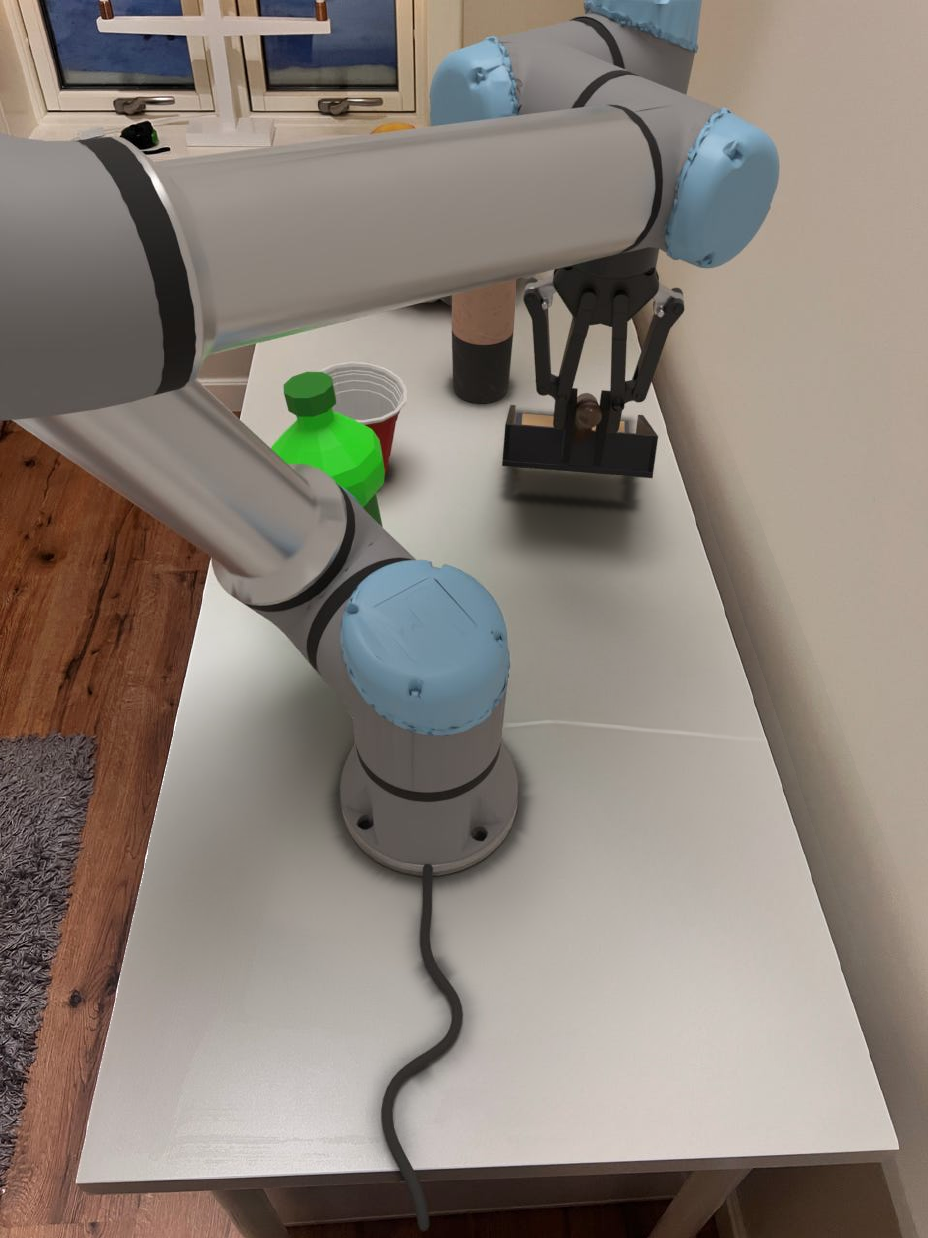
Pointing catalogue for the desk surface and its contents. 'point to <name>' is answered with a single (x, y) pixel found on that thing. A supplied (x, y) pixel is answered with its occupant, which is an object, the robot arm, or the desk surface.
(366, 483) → the plastic bottle
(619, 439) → the pan
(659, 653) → the desk surface
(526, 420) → the block
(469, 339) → the travel mug
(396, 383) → the plastic cup
